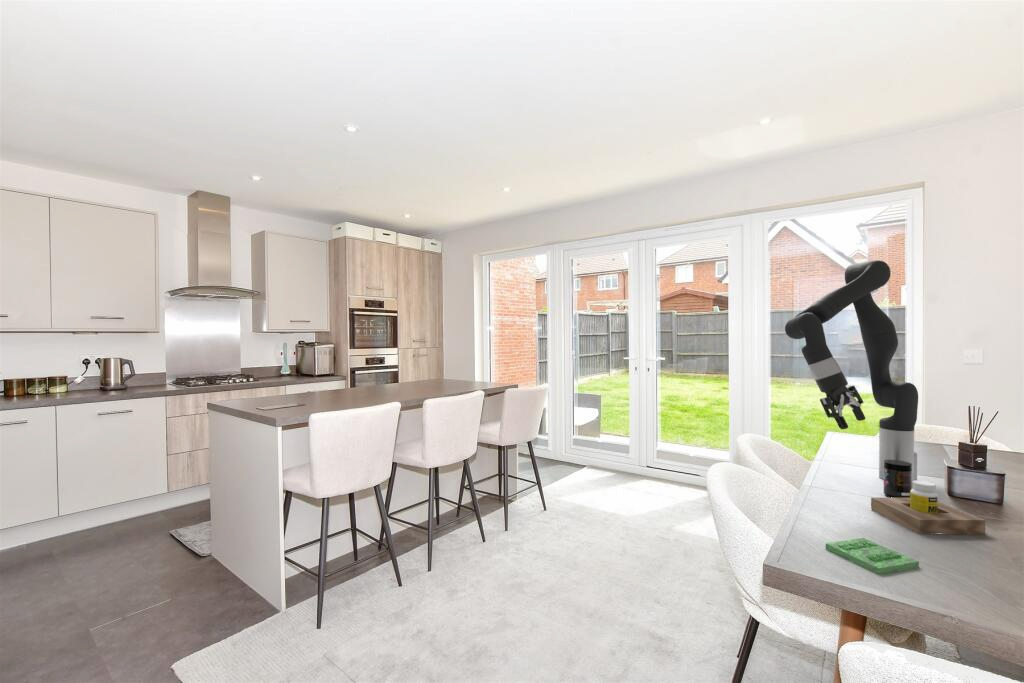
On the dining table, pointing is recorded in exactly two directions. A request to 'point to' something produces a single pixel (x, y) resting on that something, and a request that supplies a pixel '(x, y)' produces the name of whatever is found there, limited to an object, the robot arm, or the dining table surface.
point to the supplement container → (897, 478)
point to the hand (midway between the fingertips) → (853, 424)
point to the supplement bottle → (924, 497)
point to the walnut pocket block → (928, 517)
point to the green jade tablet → (872, 555)
